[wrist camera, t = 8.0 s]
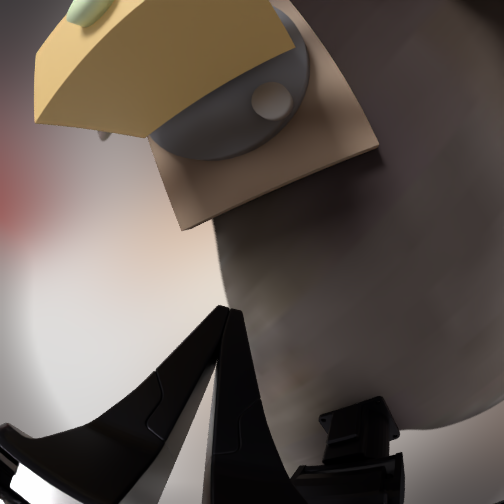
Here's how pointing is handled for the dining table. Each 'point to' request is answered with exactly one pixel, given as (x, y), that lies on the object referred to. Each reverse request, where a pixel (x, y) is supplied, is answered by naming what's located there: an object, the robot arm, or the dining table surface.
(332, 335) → the dining table surface
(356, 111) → the level base
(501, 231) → the dining table surface
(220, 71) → the yellow boxy piece
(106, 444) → the robot arm
